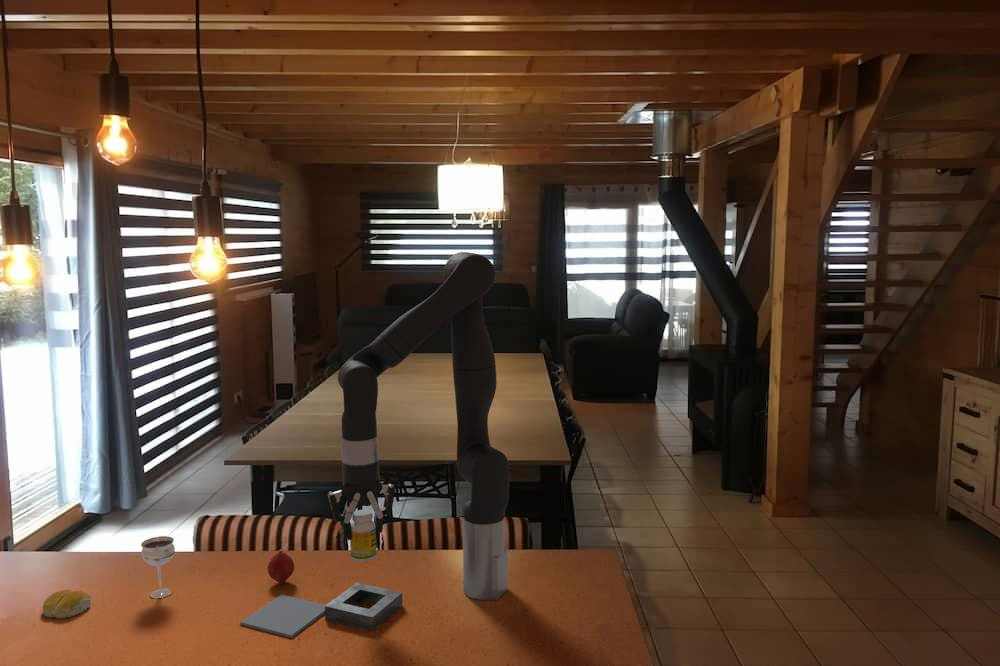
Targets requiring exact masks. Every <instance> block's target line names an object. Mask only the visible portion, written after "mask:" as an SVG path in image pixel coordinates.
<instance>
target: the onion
mask: <svg viewBox="0 0 1000 666" xmlns="http://www.w3.org/2000/svg"><path fill="white" fill-rule="evenodd" d="M294 571H295V563H294V561H293V558H292V557H291V556H290V555H288V553H285V552H284V550H283V549H279V550H278V551H277V553H275V554H274V555H273V556H272V557H271V559H270V561H269V562H268V564H267V572H268V575H269V577H270V578H271V579H272V580H273V581H276V582H277V583H279V584H284V583H285V582H286V581H287V580H288V579H289V578H290V577H291V576H292V575H293V573H294Z"/></svg>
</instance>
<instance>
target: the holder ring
mask: <svg viewBox="0 0 1000 666" xmlns="http://www.w3.org/2000/svg"><path fill="white" fill-rule="evenodd" d="M360 602H361V603H360ZM364 603H365V604H364ZM359 604H364V605H370V606H371V607H370V608H366V607H360V606H358V605H359ZM324 605H325V613H324V614H325V615H324V616H325V617H324V618H325V619H324V620H325V621H329V622H335V623H337V624H342V625H346V626H348V627H349V626H350V627H353V626H354V627H355V628H358V629H362V630H366V629H367V630H366V631H370V630H371V631H370V632H374V631H375V630H376V629H377V628H378V627H379V626H381V625H382V624H383V623H384V622H385V621H387V620H388V619H389V618H391V616H392V615H394V614H395V613H396V612H397V611H398V610H399V609H400V608H402V607H403V592H401V591H397V590H393V589H388V588H383V587H381V586H380V587H379V586H374V585H371V584H370V585H369V584H366V583H365V584H364V583H361V582H355V583H354V584H353V585H351V586H350V587H349V588H347V589H346V590H345V591H343V592H341V593H340V594H339V595H338V596H336V597H335V598H334V599H332V600H331V601H330V602H328V603H327V604H324ZM394 612H395V613H394ZM387 618H388V619H387ZM386 619H387V620H386Z"/></svg>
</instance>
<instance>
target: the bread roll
mask: <svg viewBox="0 0 1000 666" xmlns="http://www.w3.org/2000/svg"><path fill="white" fill-rule="evenodd" d="M91 604H92V599H91V596H90V594H88V593H86V592H84V591H81V590H75V591H73V590H69V589H61V590H58V591H56V592H53V593H52V594H50V595H49V596H48V597H47V598H45V600H44V602H43V605H42V613H43V615H44V616H45V617H46V618H52V617H53V618H55V619H59V618H60V619H67V618H66V617H69V618H72V617H71V616H73V617H75V615H76V616H78V615H80V614H82V613H84V612H85V611H86V610H88V609H90V606H91ZM87 608H88V609H87ZM84 610H85V611H84ZM83 611H84V612H83ZM81 612H82V613H81ZM79 613H80V614H79ZM77 614H78V615H77Z"/></svg>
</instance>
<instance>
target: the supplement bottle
mask: <svg viewBox="0 0 1000 666" xmlns="http://www.w3.org/2000/svg"><path fill="white" fill-rule="evenodd" d="M350 523H351V540H349V541H350V557H351V559H352V560H354V561H355V562H358V563H359V562H360V563H362V562H369V561H372V560H374V559H375V558H376V557H377V553H378V551H377V549H378V548H377V536H376V524H375V522H374V519H373V512H372V510H370V509H359V510H355V511H354V513H353V514H352V522H350Z"/></svg>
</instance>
